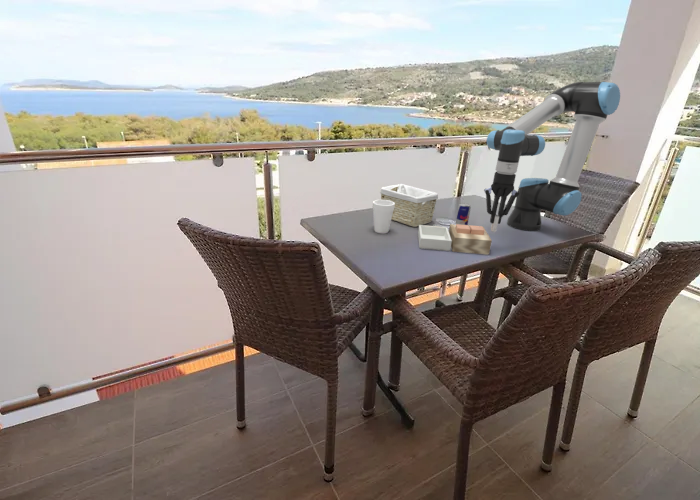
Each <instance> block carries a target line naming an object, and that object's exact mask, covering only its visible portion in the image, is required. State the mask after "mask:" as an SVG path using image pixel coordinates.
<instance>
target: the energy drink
mask: <svg viewBox="0 0 700 500" xmlns="http://www.w3.org/2000/svg"><path fill="white" fill-rule="evenodd" d="M471 208H472V207H471V204H469V203H465V202H464V203H463V202H462V203H459V204H458V207H457V213H456V218H455V224H460V225H469V219H470V215H471V210H472V209H471Z"/></svg>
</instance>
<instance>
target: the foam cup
mask: <svg viewBox="0 0 700 500" xmlns="http://www.w3.org/2000/svg"><path fill="white" fill-rule="evenodd" d="M394 206H395V203H394V202H392V201H389V200H381V199H376V200H373V201H372V213H373V229H374V230H373V231H374V232H375V233H378V234H387V233H389V230H390V227H391V222H392V214H393V210H394Z"/></svg>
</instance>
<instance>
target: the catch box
mask: <svg viewBox="0 0 700 500" xmlns="http://www.w3.org/2000/svg"><path fill="white" fill-rule="evenodd" d="M417 239H418V247H419V250H420V249H421V250H432V251H442V252H443V251H444V252H451V250H452V248H451V242H452V240H451V237H450V234H449V229H448V227H447V226H435V225H426V224H422V225H419V226H418V231H417Z"/></svg>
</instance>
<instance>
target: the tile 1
mask: <svg viewBox="0 0 700 500" xmlns="http://www.w3.org/2000/svg"><path fill="white" fill-rule="evenodd" d="M455 224H456V223H455ZM469 226H470V224H468V225H460V224H456V227H455V229H456V232H457V233H464V234H470V227H469Z"/></svg>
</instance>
